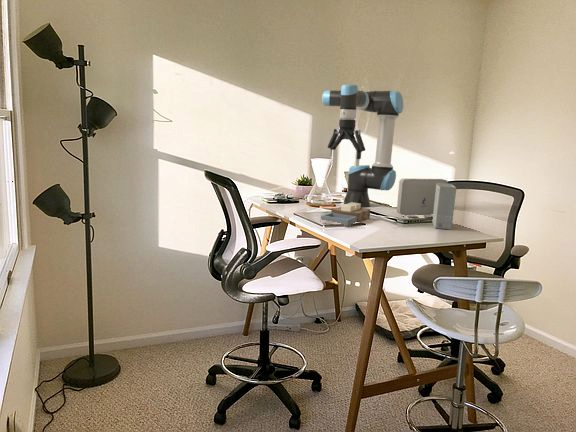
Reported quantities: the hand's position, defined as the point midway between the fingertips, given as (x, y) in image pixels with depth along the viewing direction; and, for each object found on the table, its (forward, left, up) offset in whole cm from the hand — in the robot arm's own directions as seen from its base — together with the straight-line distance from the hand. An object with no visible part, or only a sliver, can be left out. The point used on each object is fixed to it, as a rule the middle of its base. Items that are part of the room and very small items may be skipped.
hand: (344, 164), depth 221 cm
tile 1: (-4, +2, -22) cm, 23 cm away
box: (+6, +2, -27) cm, 28 cm away
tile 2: (-10, +2, -22) cm, 24 cm away
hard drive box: (-25, +42, -28) cm, 56 cm away
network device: (-39, +27, -28) cm, 54 cm away
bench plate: (-7, +2, -27) cm, 28 cm away
